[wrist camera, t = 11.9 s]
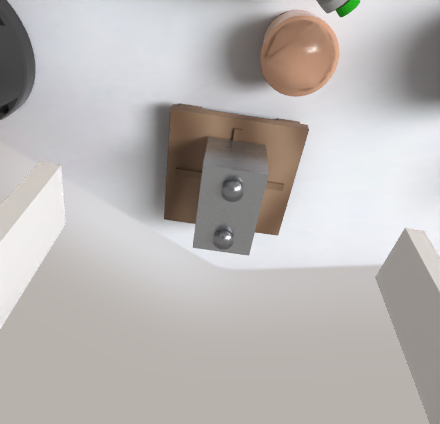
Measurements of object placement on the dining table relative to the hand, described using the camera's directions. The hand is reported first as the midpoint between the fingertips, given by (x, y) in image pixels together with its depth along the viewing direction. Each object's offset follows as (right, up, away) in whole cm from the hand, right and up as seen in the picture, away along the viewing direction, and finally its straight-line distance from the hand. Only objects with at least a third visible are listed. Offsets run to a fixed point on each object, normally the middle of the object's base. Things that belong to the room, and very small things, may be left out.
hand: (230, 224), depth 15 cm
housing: (+1, +4, +27) cm, 28 cm away
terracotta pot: (+7, +17, +22) cm, 28 cm away
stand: (+1, +6, +30) cm, 31 cm away
